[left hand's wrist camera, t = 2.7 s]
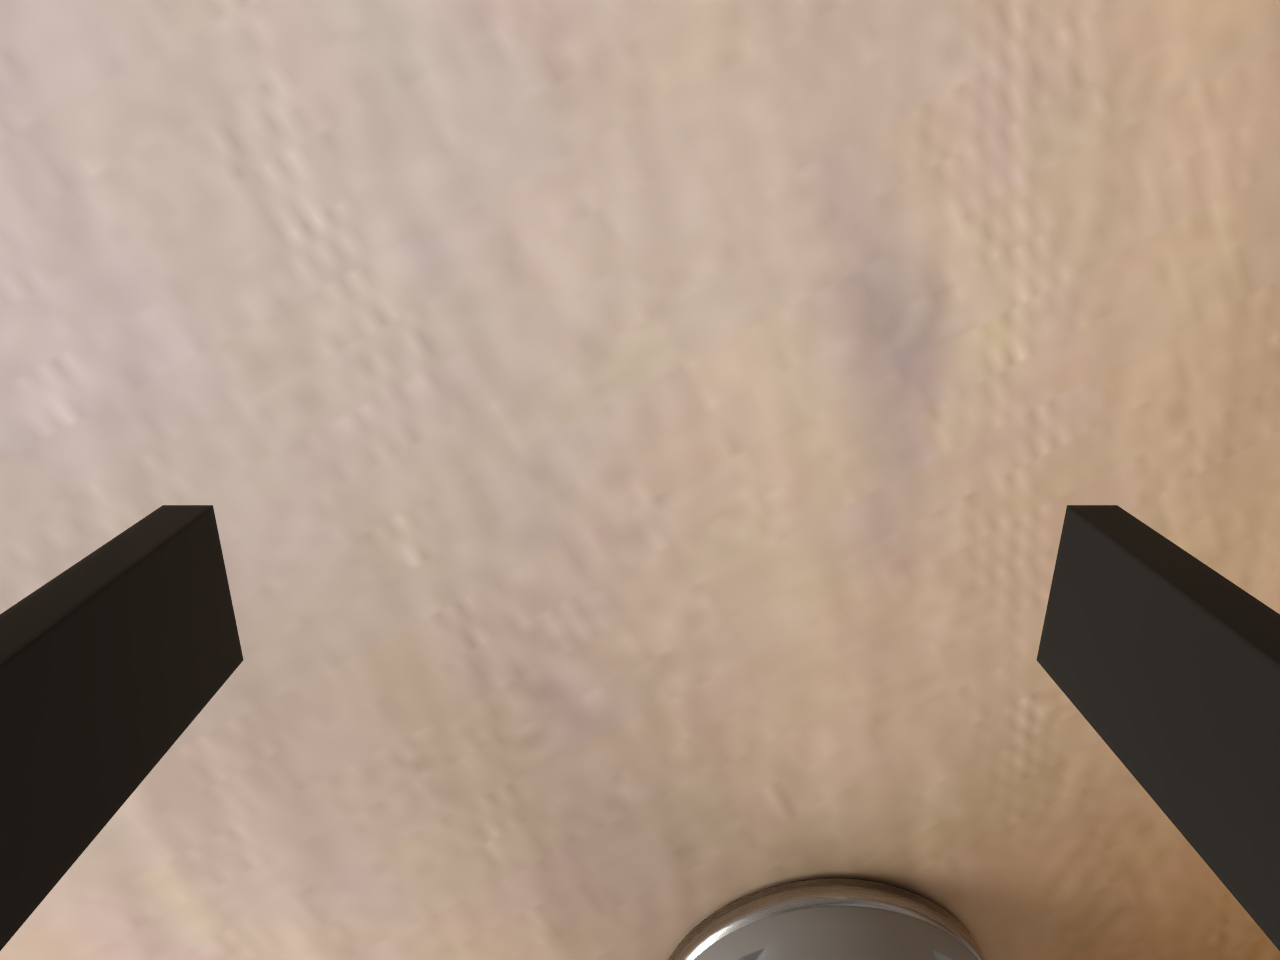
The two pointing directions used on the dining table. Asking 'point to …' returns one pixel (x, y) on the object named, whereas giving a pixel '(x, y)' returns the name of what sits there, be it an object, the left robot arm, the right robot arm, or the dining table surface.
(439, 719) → the dining table surface
